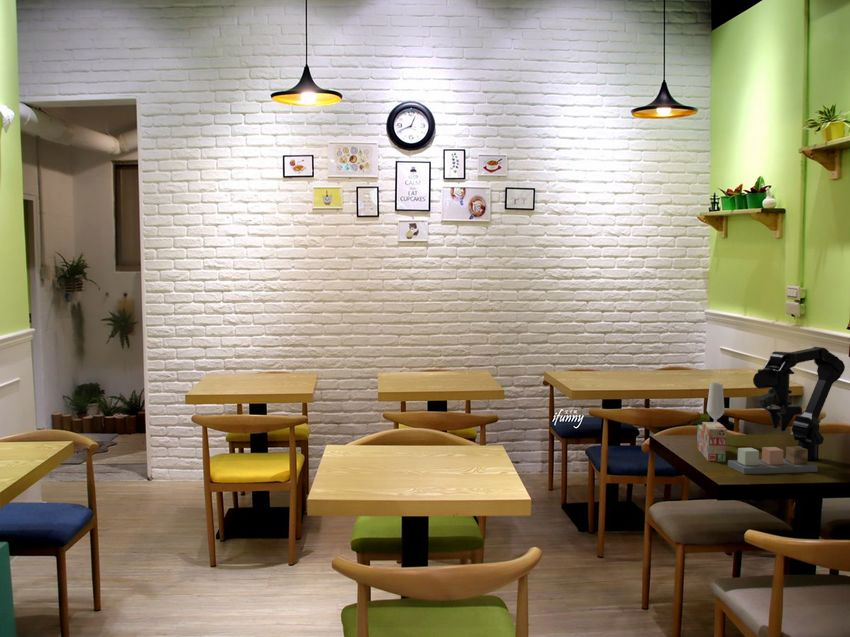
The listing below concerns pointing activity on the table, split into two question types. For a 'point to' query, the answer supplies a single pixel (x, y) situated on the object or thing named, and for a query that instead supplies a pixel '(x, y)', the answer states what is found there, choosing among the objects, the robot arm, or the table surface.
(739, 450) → the pale green cube
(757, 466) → the key board
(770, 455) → the salmon pink cube
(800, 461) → the walnut key
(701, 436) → the stack of blocks
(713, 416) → the champagne flute
